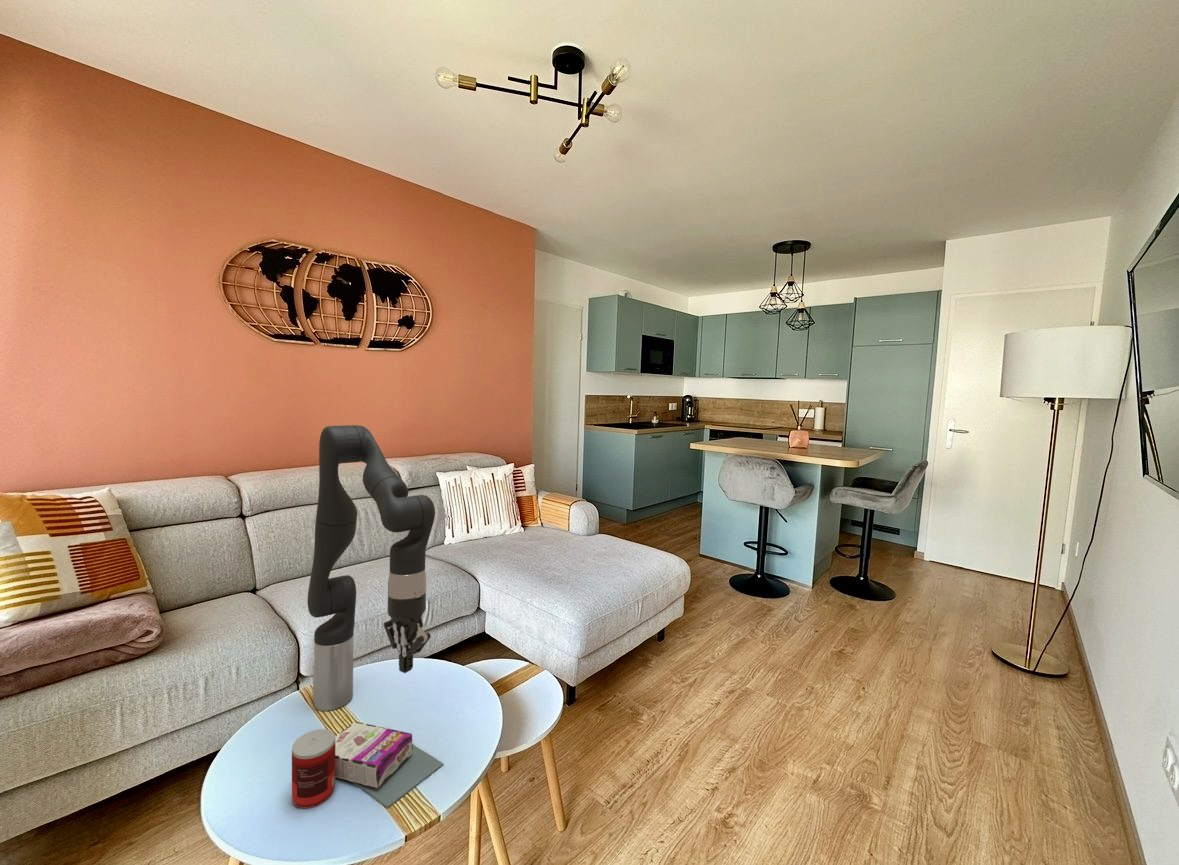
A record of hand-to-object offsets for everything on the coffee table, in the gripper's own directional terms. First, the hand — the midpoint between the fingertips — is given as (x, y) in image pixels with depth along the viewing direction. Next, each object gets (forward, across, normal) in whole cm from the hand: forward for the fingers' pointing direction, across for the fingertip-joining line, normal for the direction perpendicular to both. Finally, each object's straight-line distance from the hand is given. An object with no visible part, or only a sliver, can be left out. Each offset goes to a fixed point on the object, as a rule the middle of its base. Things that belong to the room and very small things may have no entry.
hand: (405, 670), depth 100 cm
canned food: (+24, -11, -13) cm, 29 cm away
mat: (+24, -3, 0) cm, 24 cm away
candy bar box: (+20, -2, -1) cm, 20 cm away
